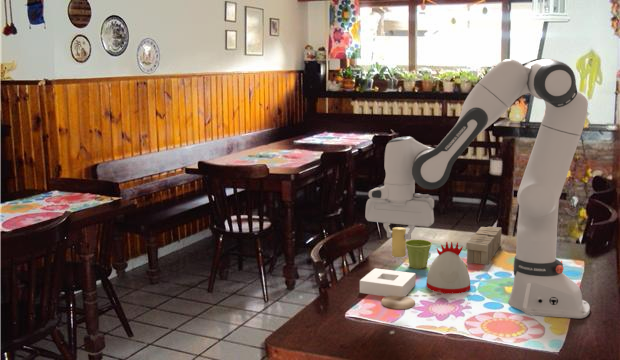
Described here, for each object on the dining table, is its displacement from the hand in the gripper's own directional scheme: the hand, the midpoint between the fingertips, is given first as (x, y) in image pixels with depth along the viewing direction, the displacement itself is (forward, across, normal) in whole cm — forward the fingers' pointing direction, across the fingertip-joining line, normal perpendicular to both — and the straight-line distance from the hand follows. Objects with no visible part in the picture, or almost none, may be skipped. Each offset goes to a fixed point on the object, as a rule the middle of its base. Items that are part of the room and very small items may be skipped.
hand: (398, 238), depth 192 cm
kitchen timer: (+20, -10, -21) cm, 31 cm away
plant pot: (+20, +5, -38) cm, 43 cm away
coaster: (+20, 0, 0) cm, 20 cm away
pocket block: (+20, +7, -11) cm, 24 cm away
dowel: (+5, 0, 0) cm, 5 cm away
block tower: (+21, -13, -63) cm, 68 cm away
